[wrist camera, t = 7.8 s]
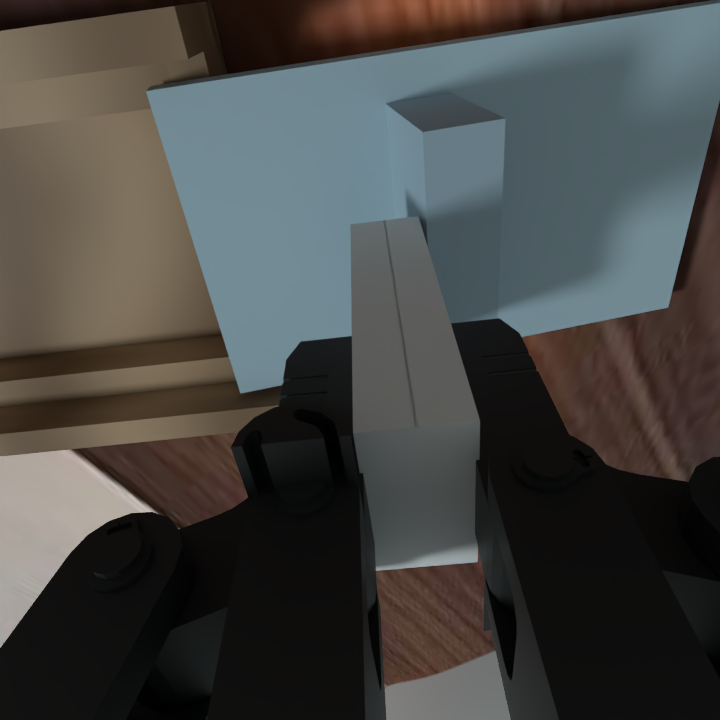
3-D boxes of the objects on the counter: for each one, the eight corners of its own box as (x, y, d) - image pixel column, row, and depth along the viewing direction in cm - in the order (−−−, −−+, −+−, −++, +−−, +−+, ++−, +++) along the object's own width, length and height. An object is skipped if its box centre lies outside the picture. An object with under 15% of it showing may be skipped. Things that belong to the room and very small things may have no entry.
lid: (240, 377, 17) (240, 468, 14) (150, 85, 12) (118, 119, 9) (652, 296, 18) (742, 361, 15) (720, -1, 13) (874, 0, 10)
